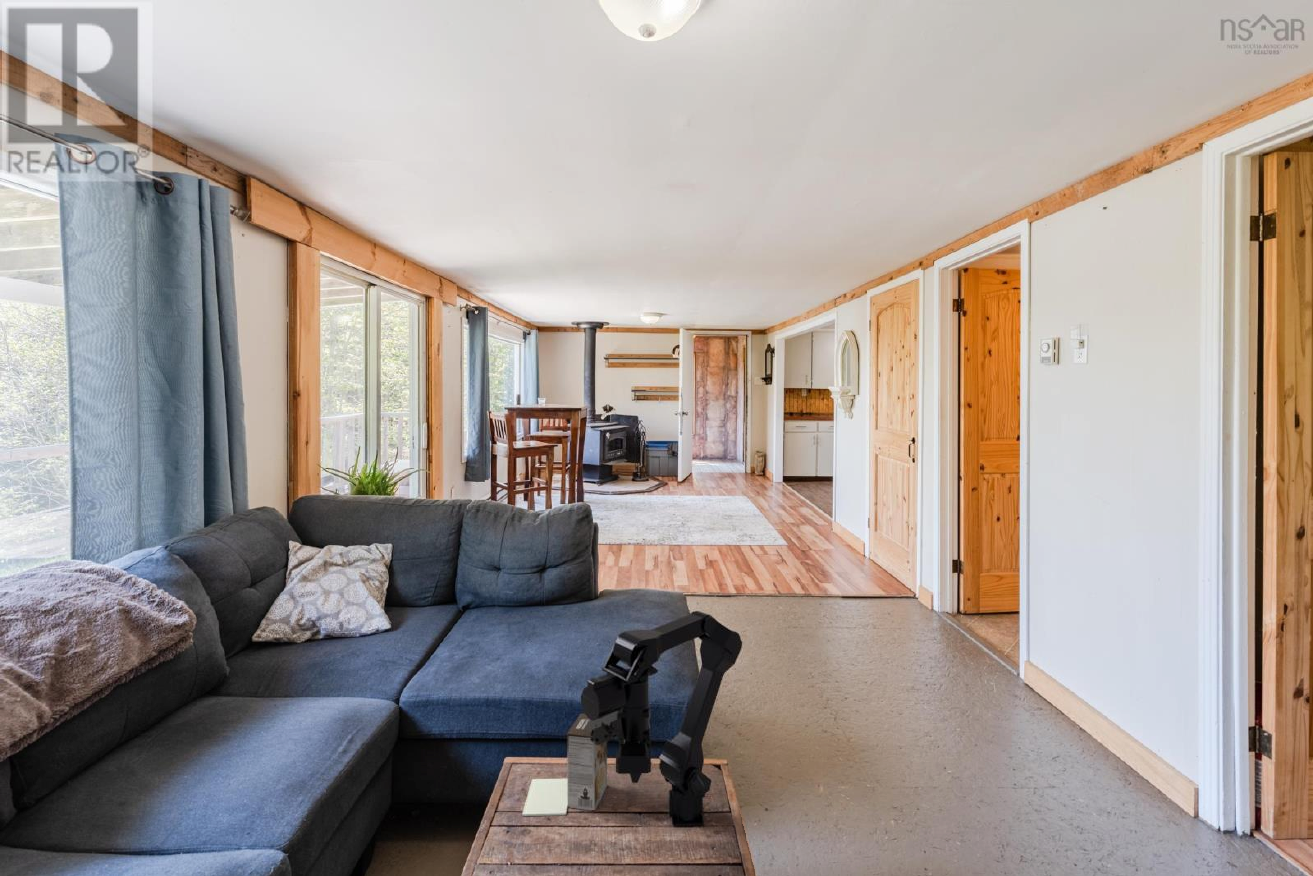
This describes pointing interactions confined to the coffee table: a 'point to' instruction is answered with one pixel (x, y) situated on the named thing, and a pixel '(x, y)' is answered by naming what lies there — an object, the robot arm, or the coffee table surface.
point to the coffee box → (585, 767)
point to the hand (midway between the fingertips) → (634, 781)
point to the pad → (546, 798)
